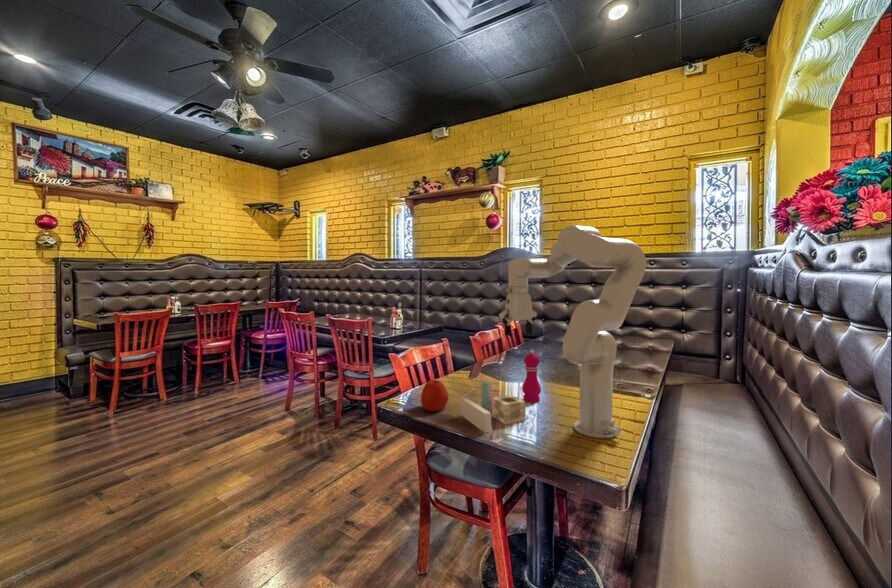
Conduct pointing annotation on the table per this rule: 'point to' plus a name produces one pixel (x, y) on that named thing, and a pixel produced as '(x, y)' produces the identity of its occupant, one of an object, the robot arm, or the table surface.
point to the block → (508, 409)
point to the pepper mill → (531, 378)
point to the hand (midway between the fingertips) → (518, 334)
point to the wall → (476, 415)
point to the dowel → (486, 396)
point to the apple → (434, 396)
